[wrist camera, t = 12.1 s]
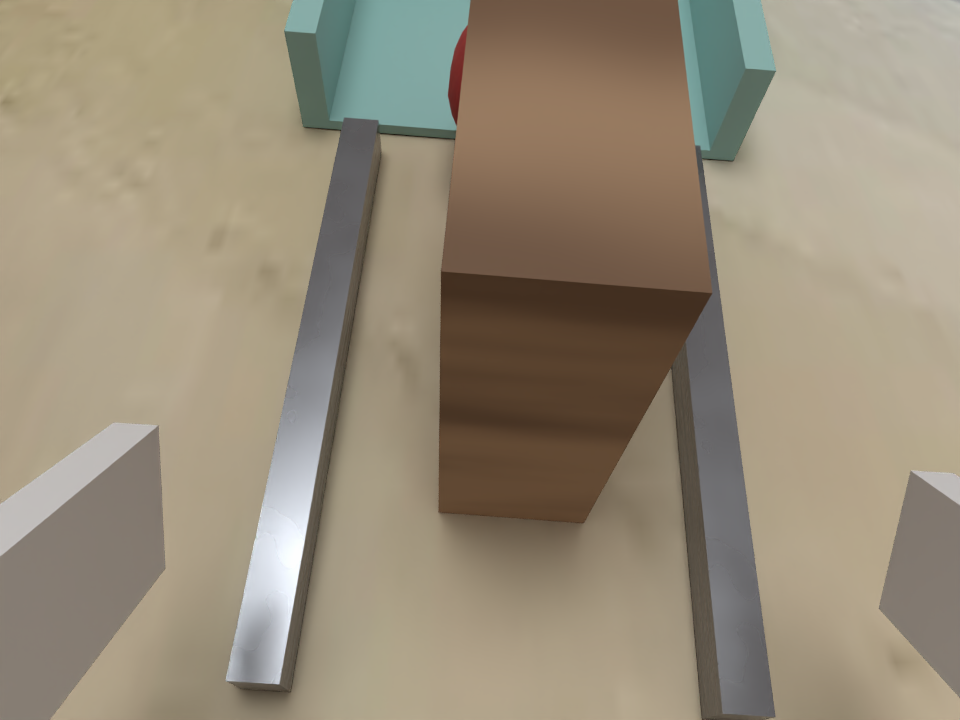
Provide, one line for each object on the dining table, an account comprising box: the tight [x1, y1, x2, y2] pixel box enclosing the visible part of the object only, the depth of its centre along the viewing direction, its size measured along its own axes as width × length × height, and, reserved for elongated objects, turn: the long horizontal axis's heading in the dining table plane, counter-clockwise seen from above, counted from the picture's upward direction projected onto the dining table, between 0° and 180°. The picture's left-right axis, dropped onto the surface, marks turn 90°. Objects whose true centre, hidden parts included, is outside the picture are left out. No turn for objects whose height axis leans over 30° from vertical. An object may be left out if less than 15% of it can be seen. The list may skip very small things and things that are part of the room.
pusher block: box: [439, 0, 712, 523], centre depth 18 cm, size 10×4×11 cm, turn 176°
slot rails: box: [226, 117, 775, 720], centre depth 22 cm, size 18×12×2 cm
